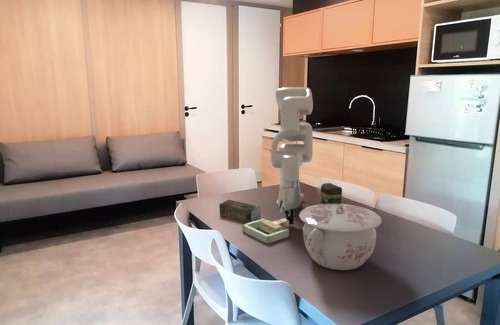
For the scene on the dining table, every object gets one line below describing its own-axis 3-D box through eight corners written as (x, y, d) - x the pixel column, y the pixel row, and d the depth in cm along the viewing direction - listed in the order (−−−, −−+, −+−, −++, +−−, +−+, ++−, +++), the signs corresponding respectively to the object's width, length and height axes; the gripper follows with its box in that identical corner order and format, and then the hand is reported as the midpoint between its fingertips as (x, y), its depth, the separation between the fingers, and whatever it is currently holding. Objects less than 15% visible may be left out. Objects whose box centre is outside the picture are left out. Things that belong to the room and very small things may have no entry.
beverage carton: (251, 223, 164) (251, 209, 163) (218, 215, 175) (218, 202, 174) (261, 218, 171) (260, 205, 169) (229, 211, 181) (228, 198, 180)
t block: (278, 223, 163) (278, 216, 162) (294, 230, 155) (294, 222, 155) (260, 229, 157) (260, 221, 156) (275, 236, 149) (275, 228, 148)
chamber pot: (357, 242, 143) (360, 191, 138) (394, 277, 116) (399, 215, 112) (288, 247, 139) (288, 195, 135) (310, 284, 112) (311, 221, 108)
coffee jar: (344, 227, 158) (345, 186, 154) (328, 230, 155) (329, 188, 151) (332, 220, 167) (333, 181, 163) (316, 222, 164) (317, 182, 160)
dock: (263, 225, 162) (263, 218, 161) (288, 236, 149) (289, 229, 148) (242, 231, 155) (242, 224, 154) (267, 243, 142) (267, 236, 141)
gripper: (296, 178, 164) (295, 217, 167) (271, 184, 155) (271, 225, 158) (308, 182, 158) (307, 221, 162) (283, 188, 149) (283, 230, 153)
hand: (289, 223), depth 160 cm, fingers closed
